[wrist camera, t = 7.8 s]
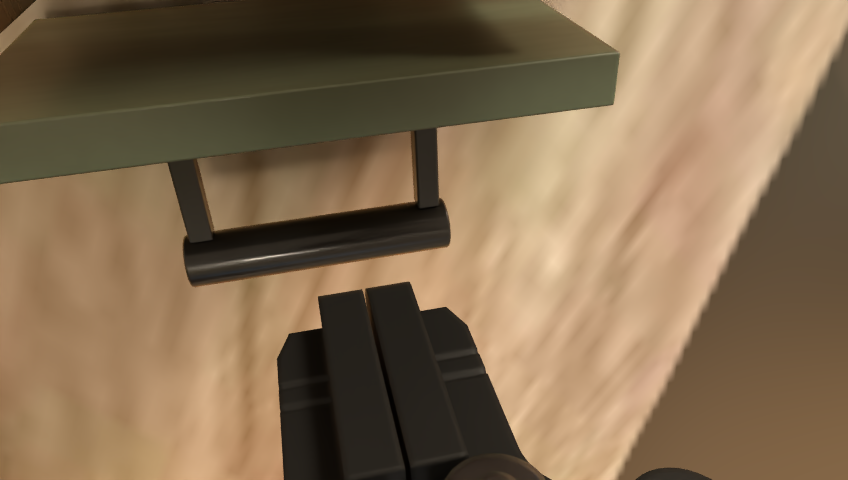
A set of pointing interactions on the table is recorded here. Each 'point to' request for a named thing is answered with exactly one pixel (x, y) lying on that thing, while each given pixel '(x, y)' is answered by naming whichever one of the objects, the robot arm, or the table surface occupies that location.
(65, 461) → the table surface
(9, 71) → the drawer
